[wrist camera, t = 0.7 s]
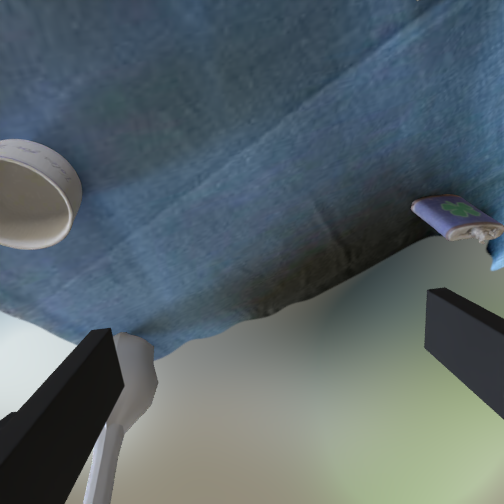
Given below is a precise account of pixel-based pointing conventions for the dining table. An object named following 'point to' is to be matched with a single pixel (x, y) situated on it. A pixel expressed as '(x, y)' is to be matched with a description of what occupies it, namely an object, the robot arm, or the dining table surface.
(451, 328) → the robot arm
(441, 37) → the dining table surface
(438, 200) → the flask
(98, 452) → the bottle
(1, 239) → the teacup
